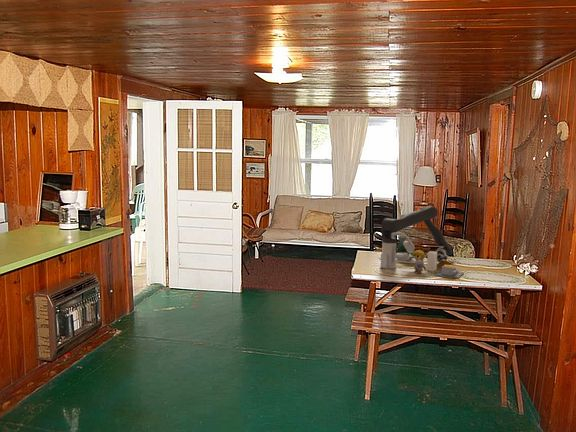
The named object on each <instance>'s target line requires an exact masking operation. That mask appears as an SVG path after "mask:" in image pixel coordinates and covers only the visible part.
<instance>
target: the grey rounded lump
mask: <svg viewBox="0 0 576 432" xmlns="http://www.w3.org/2000/svg"><path fill="white" fill-rule="evenodd" d="M464 273H465V272H464V271H461V270H460V271H459V268H457V267H453V265H451V264H450V265H449V264H444V265H442V266H441V269H440V270H439V271H438V272H436V273H435V275H434V276H435V277H439V276H440V277H441V278H450V279H457V280H458V279H460V278H461V276H462V275H463V274H464ZM440 277H439V278H440Z"/></svg>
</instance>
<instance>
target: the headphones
mask: <svg viewBox="0 0 576 432" xmlns="http://www.w3.org/2000/svg"><path fill="white" fill-rule="evenodd" d="M391 234H392V236H393V237H396V236H402V237H404V236H405V237H406V238H407V239H408V240H409V242H408V241H404V242H403V245H404V247H405V249H406V250H407V252H408V253H413V252H414V251H415V249H416V247H415V245H414V244H413V243H412V242H411V241H412V240H411V239H410V237H409V236H408V235H407V234H406V235H405V233H403V232H400V231H398V232H396V233H391ZM407 236H408V237H407ZM408 253H397V254H396V262H397V263H398V262H399V263H403V262H402V261H407V262H409V260H410V258H411V257H410V256H411V255H410V254H408Z"/></svg>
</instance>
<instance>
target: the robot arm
mask: <svg viewBox="0 0 576 432" xmlns="http://www.w3.org/2000/svg"><path fill="white" fill-rule="evenodd" d="M438 212H439V211H438V208H437V207H436V206H433V205H428V206H423V207H421V208H420V210H413V211H409V212H407V213H405V214H404V215H402V217H401V218H396V219H395V218H388V217H386V218H384V219H383V220H382V222H381V226H380V227H381V229H380V230H381V239H382V240H381V241H382V243H381V247H382V248H381V249H382V251H381V253H380V268H383V269H386V270H388V269H390V270H392V269H396V266H397V265H396V262H397V261H396V259H397V258H396V252H397V238H396V236H392V233H396V232H400V231H402V230H403V229H407V228H408V227H412V226H415V225H417V224H420V223H423V222H424V224H425V226H426V227H427V228H428V231H429V232H430V234H431V236H432V237H433V240H434V242H435V243H434V244H436V245H437V246H440V247H438V248H437V249H436V250H435V251H437V262H440V261H444V260H445V261H447V260H448V257H449V256H450V255H452V254H453V248H452V246H451V245H450V244H449V243H448V242H447V240H446V238H445V237H444V234H443V231H441V230H440V228H438V227H437V226H436V224H434V223H433V221H432V220H433V219H435V218H437V216H438V214H439V213H438ZM426 254H427V256H428V252H427V253H425V255H426ZM427 256H426V257H425V258H426V259H427ZM425 258H424V259H425Z"/></svg>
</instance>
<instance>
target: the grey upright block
mask: <svg viewBox="0 0 576 432" xmlns="http://www.w3.org/2000/svg"><path fill="white" fill-rule="evenodd" d="M427 253H428V256H427V258H426V271H427V270H429V271H428V272H435V271H436V270H437V264H438V261H437V251H436V250H434V251H433V250H430V251H428V252H427Z"/></svg>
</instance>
